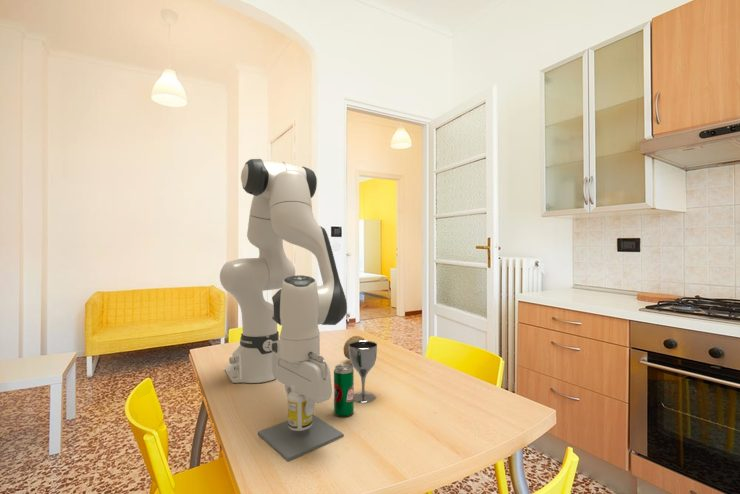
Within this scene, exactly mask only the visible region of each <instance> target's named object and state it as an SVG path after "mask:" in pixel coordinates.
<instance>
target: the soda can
mask: <svg viewBox="0 0 740 494" xmlns="http://www.w3.org/2000/svg"><path fill="white" fill-rule="evenodd" d="M354 370H355V369H353V366H352V364H349V363H339V364H337V365H335V368H334V370H333V413H334V414H335V415H336V416H337V417H341V418H347V417H351V416H352V414H353V413H354V411H355V407H354V406H355V405H354V403H355V401H354V394H355V391H354V385H355V382H354V380H355V379H354V378H355V377H354V376H355V375H354V372H355V371H354Z"/></svg>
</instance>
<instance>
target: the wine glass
mask: <svg viewBox="0 0 740 494" xmlns="http://www.w3.org/2000/svg"><path fill="white" fill-rule="evenodd" d="M377 355H378V343H377V342H375V341H371V340H366V341H355V342H352V343H350V344H349V356H350V360H349V361H350V365H351V366H352V368H354V370H355V371H356V372H357V373H358V375H359V377H360V380H361V381H360V382H361V391H359V392H358V391H357V392H354V403H361V404H363V403H364V404H366V403H370V402H373V401H375V400H376V399H377V396H376V394H374V393H372V392H368V391H365V390H366V389H365V388H366V387H365V385H366V378H367V375H368V374H369V373H370V371H371V370H372V369H373V368H374V366H375V364H376V362H377V361H376V360H377Z"/></svg>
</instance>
